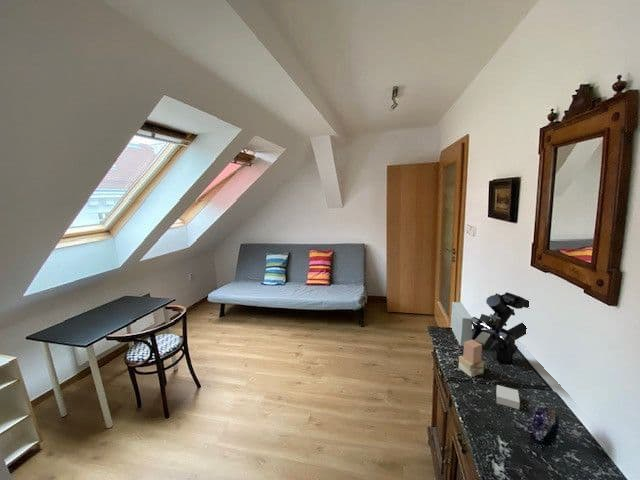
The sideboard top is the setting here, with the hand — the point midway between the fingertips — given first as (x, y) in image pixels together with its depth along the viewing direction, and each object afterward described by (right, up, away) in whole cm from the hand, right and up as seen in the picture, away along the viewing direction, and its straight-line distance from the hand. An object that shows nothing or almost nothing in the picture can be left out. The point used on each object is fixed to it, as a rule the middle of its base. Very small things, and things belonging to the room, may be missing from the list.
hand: (480, 345), depth 125 cm
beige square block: (-4, -9, +1) cm, 10 cm away
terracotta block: (-4, -6, 0) cm, 7 cm away
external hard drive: (+14, -7, +27) cm, 31 cm away
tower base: (-4, -12, +1) cm, 13 cm away
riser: (+1, -15, -17) cm, 23 cm away
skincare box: (+5, -6, +29) cm, 30 cm away
